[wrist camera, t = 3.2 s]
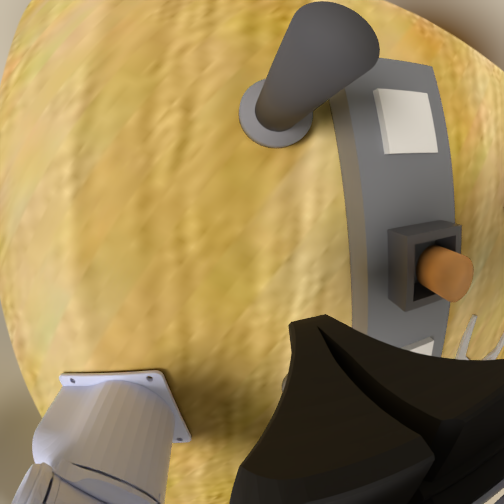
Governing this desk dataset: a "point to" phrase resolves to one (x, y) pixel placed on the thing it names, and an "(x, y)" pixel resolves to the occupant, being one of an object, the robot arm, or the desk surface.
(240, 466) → the robot arm
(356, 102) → the power strip
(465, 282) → the breaker button
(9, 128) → the desk surface
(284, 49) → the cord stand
